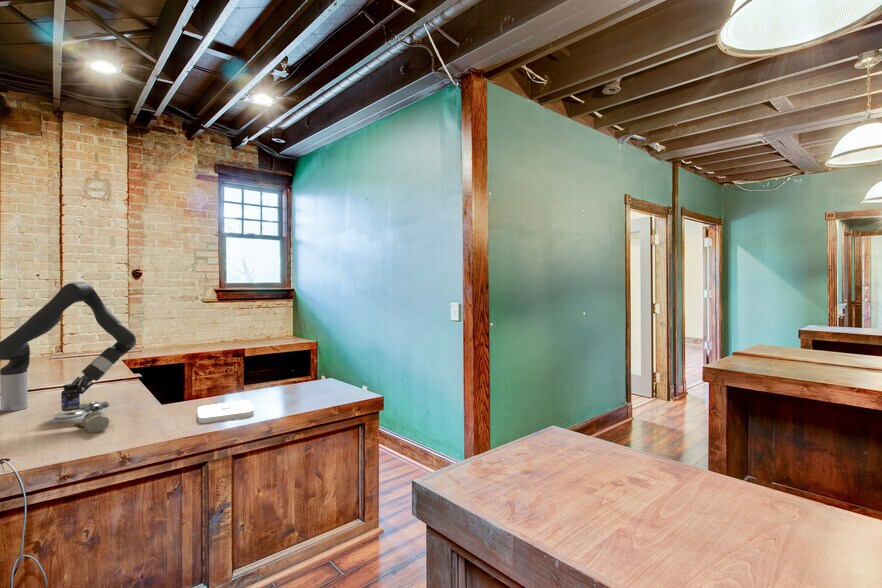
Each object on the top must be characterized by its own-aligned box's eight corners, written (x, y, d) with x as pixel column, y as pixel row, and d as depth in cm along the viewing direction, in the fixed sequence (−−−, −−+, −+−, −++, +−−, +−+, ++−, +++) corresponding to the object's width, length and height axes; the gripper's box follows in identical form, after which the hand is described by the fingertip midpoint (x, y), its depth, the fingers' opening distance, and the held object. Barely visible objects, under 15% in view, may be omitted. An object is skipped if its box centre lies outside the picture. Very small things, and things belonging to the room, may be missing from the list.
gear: (78, 406, 203) (78, 400, 203) (111, 403, 209) (111, 397, 209) (69, 413, 192) (69, 407, 192) (104, 409, 198) (104, 404, 198)
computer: (254, 417, 192) (254, 410, 192) (198, 424, 181) (198, 418, 181) (249, 405, 211) (249, 400, 211) (197, 412, 200) (197, 406, 200)
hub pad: (59, 414, 191) (59, 411, 191) (88, 411, 196) (88, 408, 196) (51, 420, 182) (51, 417, 182) (81, 417, 187) (81, 414, 187)
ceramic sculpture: (82, 414, 166) (72, 410, 175) (82, 436, 165) (73, 431, 175) (115, 408, 174) (104, 404, 183) (116, 429, 174) (105, 425, 183)
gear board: (65, 411, 200) (65, 408, 200) (110, 407, 208) (110, 404, 208) (45, 426, 179) (45, 422, 179) (96, 420, 186) (96, 417, 186)
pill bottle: (69, 411, 185) (68, 386, 185) (57, 411, 187) (57, 385, 186) (83, 407, 191) (82, 383, 191) (72, 407, 193) (71, 382, 192)
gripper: (84, 361, 199) (52, 392, 189) (96, 364, 191) (63, 397, 181) (99, 371, 203) (67, 401, 194) (111, 374, 195) (79, 406, 186)
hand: (65, 399), depth 188 cm, fingers closed on pill bottle, 6 cm apart
